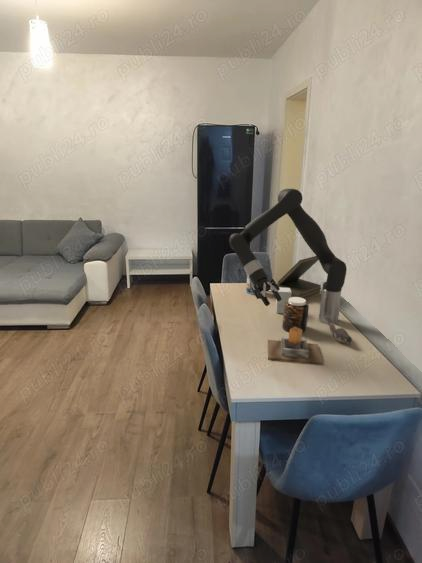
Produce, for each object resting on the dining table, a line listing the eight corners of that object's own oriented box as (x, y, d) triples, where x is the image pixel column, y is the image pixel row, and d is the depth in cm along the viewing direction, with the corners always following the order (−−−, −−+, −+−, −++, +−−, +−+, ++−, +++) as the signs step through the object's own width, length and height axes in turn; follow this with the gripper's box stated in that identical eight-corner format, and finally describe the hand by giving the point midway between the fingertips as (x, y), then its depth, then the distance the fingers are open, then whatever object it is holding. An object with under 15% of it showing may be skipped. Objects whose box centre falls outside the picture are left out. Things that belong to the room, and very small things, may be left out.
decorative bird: (342, 349, 161) (344, 339, 160) (317, 325, 185) (319, 316, 183) (355, 348, 163) (357, 338, 161) (329, 324, 186) (330, 315, 184)
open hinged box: (294, 286, 243) (298, 249, 235) (320, 294, 229) (325, 255, 221) (272, 293, 228) (275, 254, 221) (298, 302, 215) (302, 261, 207)
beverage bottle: (255, 295, 223) (257, 264, 217) (243, 292, 228) (245, 261, 222) (262, 292, 230) (264, 261, 223) (250, 289, 234) (252, 258, 228)
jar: (306, 334, 174) (310, 305, 170) (281, 332, 177) (284, 303, 172) (305, 324, 185) (309, 296, 181) (282, 322, 188) (285, 294, 183)
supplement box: (288, 308, 205) (290, 287, 201) (289, 314, 198) (291, 292, 194) (274, 308, 205) (276, 286, 201) (275, 313, 198) (277, 291, 194)
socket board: (317, 346, 164) (318, 338, 163) (322, 364, 149) (323, 356, 148) (267, 341, 167) (268, 333, 165) (268, 359, 152) (268, 350, 150)
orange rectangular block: (286, 349, 158) (288, 328, 155) (291, 346, 160) (293, 326, 157) (296, 354, 154) (298, 332, 151) (301, 351, 157) (303, 330, 154)
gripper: (250, 270, 158) (269, 302, 154) (270, 264, 167) (289, 295, 163) (240, 279, 163) (259, 310, 159) (260, 273, 173) (278, 302, 168)
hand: (274, 302), depth 161 cm, fingers open, 8 cm apart
